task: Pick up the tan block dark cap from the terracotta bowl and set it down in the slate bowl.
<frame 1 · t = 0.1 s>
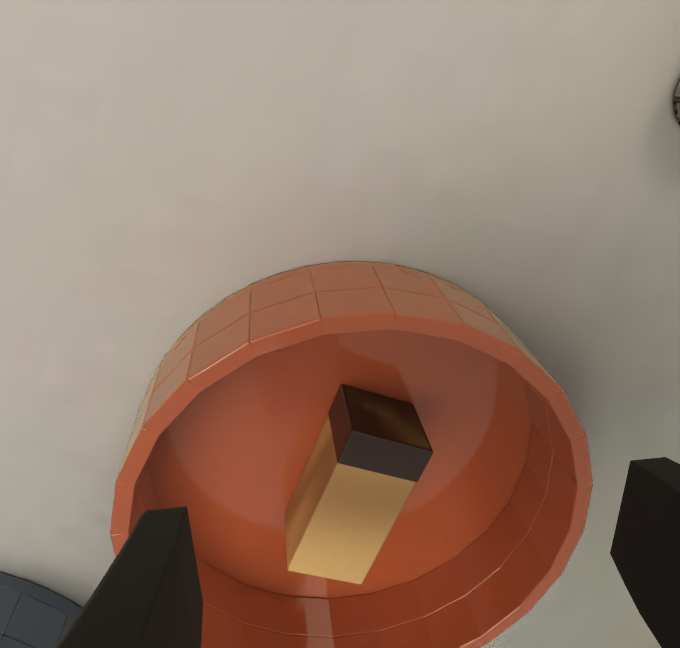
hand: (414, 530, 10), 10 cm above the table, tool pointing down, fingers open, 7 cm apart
terracotta bowl: (344, 449, 21), on the table
tan block dark cap: (346, 460, 21), point 1 cm above the table, touching terracotta bowl
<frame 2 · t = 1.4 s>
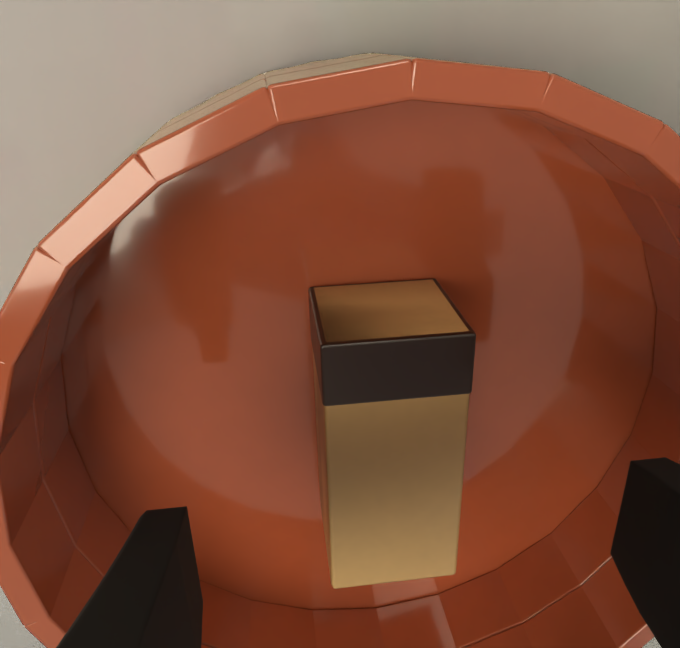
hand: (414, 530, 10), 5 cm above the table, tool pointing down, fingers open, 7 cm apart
terracotta bowl: (368, 385, 14), on the table
tan block dark cap: (373, 399, 14), point 1 cm above the table, touching terracotta bowl
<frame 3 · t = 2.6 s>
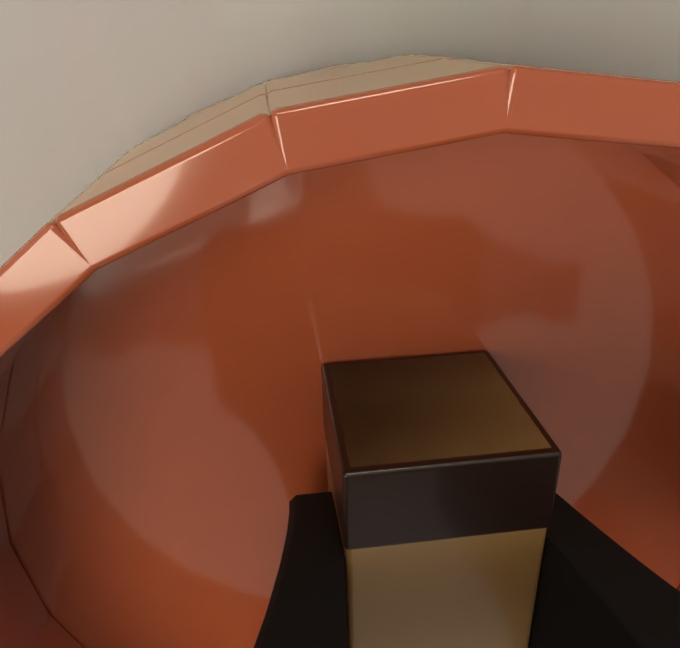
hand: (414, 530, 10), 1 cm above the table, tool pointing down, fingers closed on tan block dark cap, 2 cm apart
terracotta bowl: (396, 474, 11), on the table
tan block dark cap: (402, 497, 11), point 1 cm above the table, touching gripper, terracotta bowl
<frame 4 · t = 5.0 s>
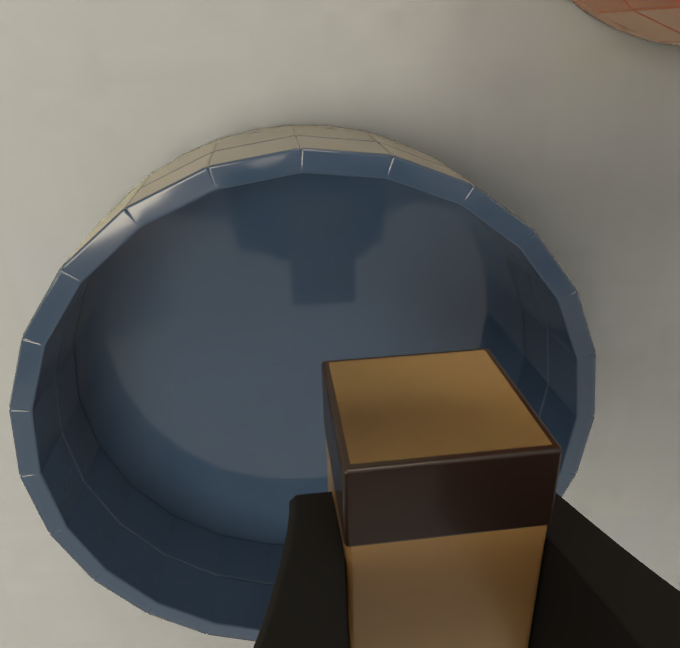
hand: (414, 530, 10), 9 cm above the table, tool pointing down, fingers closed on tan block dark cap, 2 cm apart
slate bowl: (307, 365, 18), on the table
tan block dark cap: (402, 495, 11), point 8 cm above the table, touching gripper
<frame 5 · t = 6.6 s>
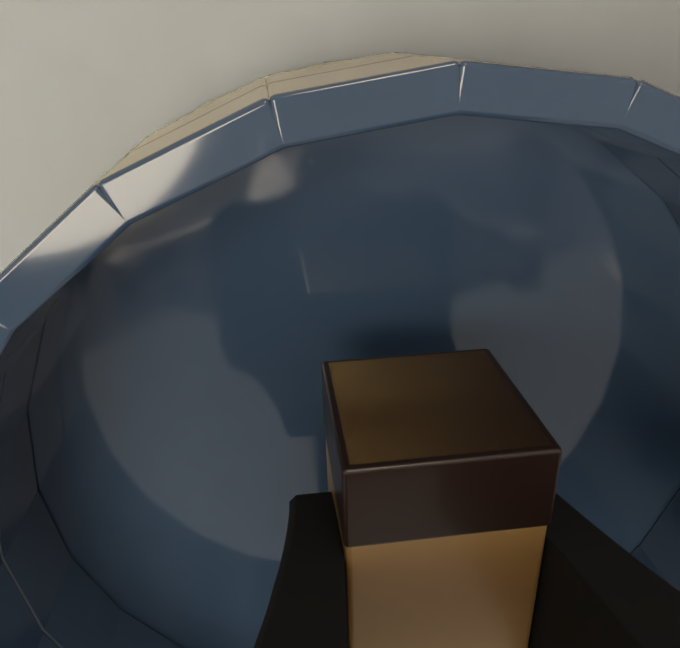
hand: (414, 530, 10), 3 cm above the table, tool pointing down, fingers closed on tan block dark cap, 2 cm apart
slate bowl: (384, 433, 12), on the table
tan block dark cap: (402, 495, 11), point 2 cm above the table, touching gripper
when the fingers open (1 cm above the table, at t = 7.3 s): tan block dark cap stays where it is, resting on slate bowl.
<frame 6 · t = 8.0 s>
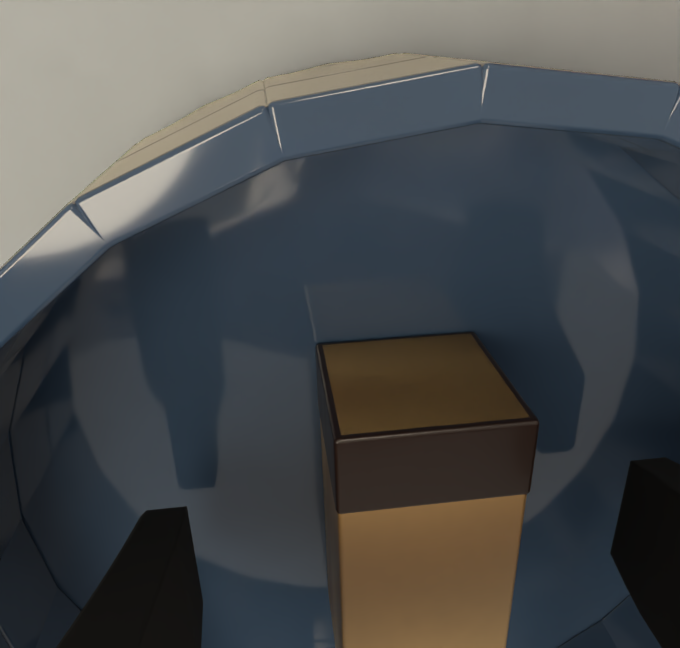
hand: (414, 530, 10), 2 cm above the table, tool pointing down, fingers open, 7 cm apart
slate bowl: (389, 455, 12), on the table
tan block dark cap: (393, 474, 11), point 1 cm above the table, touching slate bowl
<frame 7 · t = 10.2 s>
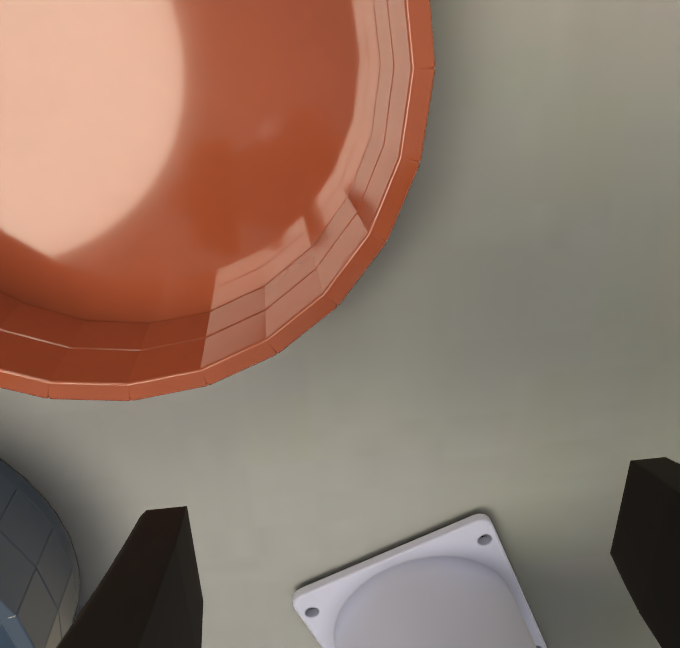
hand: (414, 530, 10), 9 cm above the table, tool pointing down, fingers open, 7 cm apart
terracotta bowl: (112, 70, 15), on the table
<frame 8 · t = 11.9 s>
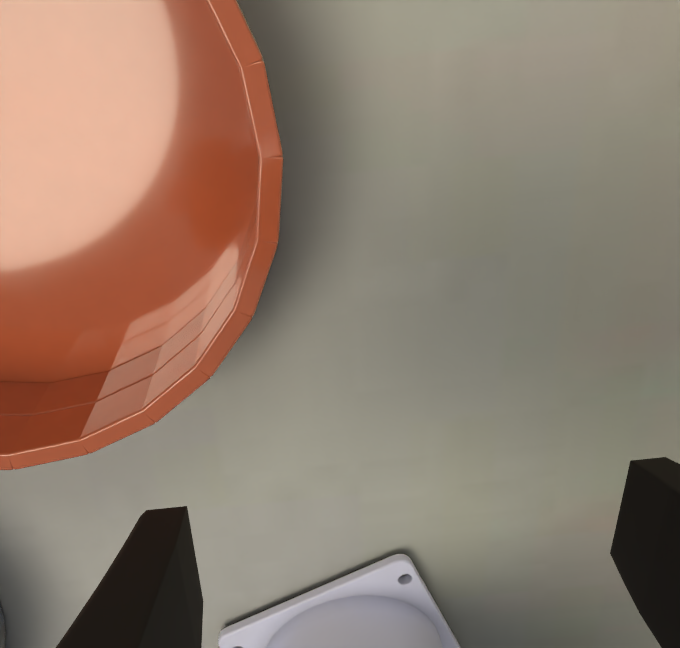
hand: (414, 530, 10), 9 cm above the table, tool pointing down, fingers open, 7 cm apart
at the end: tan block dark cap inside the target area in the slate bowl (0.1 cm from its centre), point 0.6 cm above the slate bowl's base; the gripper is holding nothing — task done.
